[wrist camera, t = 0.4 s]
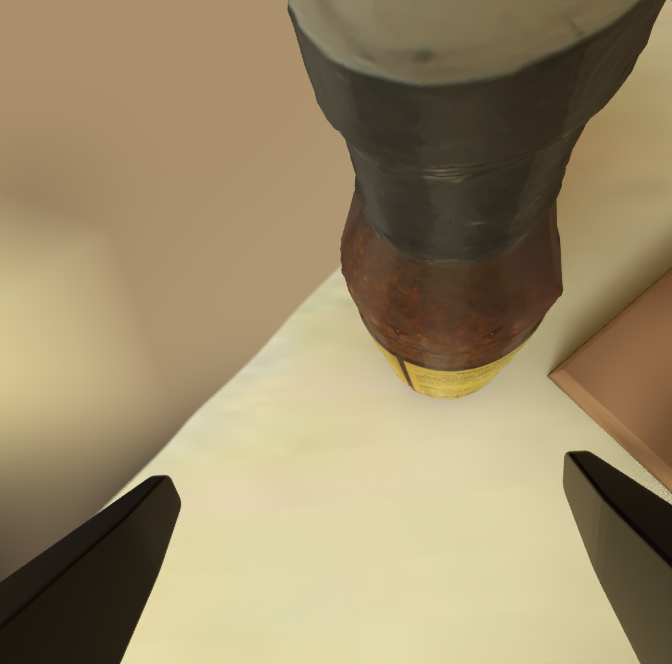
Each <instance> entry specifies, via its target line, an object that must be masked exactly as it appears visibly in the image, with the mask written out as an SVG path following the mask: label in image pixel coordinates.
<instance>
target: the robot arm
mask: <svg viewBox="0 0 672 664" xmlns="http://www.w3.org/2000/svg"><path fill="white" fill-rule="evenodd" d="M563 487H564V491H565V495H566V497H567V500H568V503H569V505H570V508H571V511H572V513H573V516H574V519H575V521H576V524H577V527H578V529H579V532H580V535H581V537H582V540H583V543H584V545H585V548H586V551H587V553H588V556H589V558H590V561H591V563H592V566H593V568H594V571H595V573H596V575H597V577H598V579H599V582H600V584H601V586H602V588H603V590H604V592H605V594H606V596H607V598H608V600H609V602H610V604H611V606H612V608H613V610H614V612H615V614H616V616H617V618H618V620H619V622H620V624H621V626H622V628H623V630H624V632H625V634H626V636H627V638H628V640H629V642H630V644H631V646H632V648H633V650H634V652H635V654H636V656H637V658H638V660H639V662H640V664H672V505H671V504H670V503H668V502H667V501H665V500H664V499H662V498H661V497H659V496H658V495H656V494H654V493H653V492H651V491H650V490H648V489H647V488H645V487H644V486H642V485H641V484H639V483H637V482H636V481H634V480H633V479H631V478H630V477H628V476H627V475H625V474H624V473H622V472H621V471H619V470H617V469H616V468H614V467H613V466H611V465H610V464H608V463H607V462H605V461H604V460H602V459H601V458H599V457H597V456H596V455H594V454H593V453H591V452H589V451H569V452H567V453H566V454H565V456H564V471H563ZM180 508H181V499H180V497H179V494H178V492H177V490H176V488H175V486H174V484H173V481H172V479H171V478H170V477H169V476H168V475H156V476H151V477H149V478H148V479H146V480H145V481H144V482H142V483H141V484H139V485H138V486H136V487H135V488H134V489H132V490H131V491H129V492H128V493H126V494H125V495H124V496H122V497H121V498H119V499H118V500H116V501H115V502H114V503H112V504H111V505H109V506H108V507H107V508H105V509H104V510H102V511H101V512H99V513H98V514H97V515H95V516H94V517H92V518H91V519H89V520H88V521H87V522H85V523H84V524H82V525H81V526H79V527H78V528H77V529H75V530H74V531H72V532H71V533H69V534H68V535H67V536H65V537H64V538H63V539H61V540H60V541H58V542H57V543H55V544H54V545H53V546H51V547H50V548H48V549H47V550H45V551H44V552H42V553H41V554H40V555H38V556H37V557H35V558H34V559H33V560H31V561H30V562H28V563H27V564H25V565H24V566H22V567H21V568H20V569H18V570H17V571H15V572H14V573H13V574H11V575H10V576H8V577H7V578H5V579H4V580H3V581H1V582H0V664H120V663H121V661H122V658H123V656H124V654H125V651H126V649H127V647H128V644H129V642H130V640H131V638H132V635H133V633H134V631H135V628H136V626H137V624H138V621H139V619H140V617H141V614H142V612H143V610H144V607H145V605H146V603H147V600H148V598H149V596H150V593H151V591H152V589H153V587H154V584H155V582H156V579H157V577H158V574H159V572H160V569H161V566H162V563H163V560H164V557H165V554H166V551H167V548H168V545H169V542H170V539H171V536H172V533H173V530H174V527H175V524H176V521H177V518H178V515H179V512H180Z"/></svg>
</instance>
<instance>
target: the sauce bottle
mask: <svg viewBox="0 0 672 664" xmlns="http://www.w3.org/2000/svg"><path fill="white" fill-rule="evenodd" d="M665 1H666V0H288V13H289V15H290V18H291V21H292V23H293V26H294V29H295V33H296V36H297V40H298V43H299V47H300V50H301V54H302V57H303V61H304V65H305V67H306V70H307V73H308V75H309V78H310V81H311V83H312V86H313V89H314V92H315V96H316V100H317V102H318V104H319V106H320V108H321V110H322V111H323V113H324V115H325V117H326V118H327V120H328V121H329V122H330V124H331V125H332V126H333V127H334V128H335V129H336V130H338V131H339V132H340V133H341V134H342V136H343V137H344V138H345V140H346V144H347V147H348V150H349V153H350V157H351V161H352V164H353V168H354V171H355V174H356V177H355V191H354V195H353V198H352V202H351V207H350V210H349V214H348V217H347V221H346V224H345V228H344V231H343V235H342V238H341V248H340V250H341V263H342V270H341V271H342V274H343V275H344V277H345V280H346V283H347V287H348V291H349V292H350V294H351V296H352V298H353V300H354V302H355V304H356V306H357V307H358V310H359V313H360V316H361V318H362V320H363V323H364V324H365V326H366V328H367V330H368V331H369V333H370V334H371V336H372V337H373V339H374V340H375V342H376V344H377V345H378V347H379V348H380V350H381V351H382V353H383V354H384V356H385V357H386V359H387V360H388V362H389V364H390V365H391V367H392V368H393V370H394V371H395V373H396V374H397V375H398V377H399V378H400V379H401V380H402V381H403V382H404V383H405V384H406V385H407V386H411V387H412V388H413V389H414V390H415V391H417V392H419V393H421V394H424V395H427V396H430V397H435V398H441V399H455V398H460V397H463V396H466V395H469V394H471V393H473V392H476V391H477V390H479V389H481V388H482V387H484V386H485V385H486V384H488V383H489V382H490V381H491V380H492V379H493V378H494V376H495V375H496V374H497V373H498V372H499V371H500V370H501V369H502V368H503V367H504V366H505V365H506V364H507V363H508V362H509V361H510V360H511V358H512V357H513V356H514V355H515V354H516V353H517V352H518V351H519V349H520V348H521V347H522V346H523V345H524V343H525V342H526V341H527V340H528V339H529V338H530V337H531V336H532V334H533V333H534V332H535V331H536V329H537V328H538V326H539V325H540V323H541V322H542V320H543V318H544V316H545V314H546V313H547V311H548V310H549V309H550V307H551V306H552V305H553V304H554V303H555V302H556V300H557V299H558V298H559V297H560V296H561V295H562V292H563V286H562V272H561V248H560V237H559V232H558V228H557V207H556V199H557V196H558V194H559V192H560V189H561V187H562V180H563V177H564V175H565V170H566V166H567V164H568V162H569V159H570V156H571V152H572V149H573V148H574V146H575V144H576V142H577V140H578V138H579V136H580V135H581V133H582V131H583V129H584V127H585V125H586V123H587V122H588V121H589V119H590V118H591V117H593V116H594V115H595V114H596V113H598V112H599V111H600V110H601V109H602V108H603V107H604V106H605V105H606V104H607V103H608V102H609V101H610V99H611V98H612V97H613V96H614V95H615V93H616V92H617V91H618V90H619V88H620V87H621V86H622V84H623V83H624V82H625V80H626V79H627V77H628V76H629V75H630V73H631V72H632V70H633V68H634V66H635V63H636V61H637V59H638V56H639V55H640V54H641V52H642V51H643V49H644V48H645V46H646V45H647V43H648V40H649V37H650V33H651V30H652V27H653V25H654V23H655V21H656V18H657V16H658V14H659V12H660V10H661V8H662V7H663V5H664V3H665Z"/></svg>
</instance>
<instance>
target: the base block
mask: <svg viewBox="0 0 672 664" xmlns="http://www.w3.org/2000/svg"><path fill="white" fill-rule="evenodd" d="M548 377H549V378H550V379H551V380H552V381H553V382H554V383H555V384H556V385H557V386H558V387H559V388H560V389H561V390H562V391H564V392H565V393H566V394H567V395H568V396H569V397H570V398H571V399H572V400H573V401H574V402H575V403H576V404H577V405H578V406H579V407H581V408H582V409H583V410H584V411H585V412H586V413H587V414H588V415H589V416H590V417H591V418H592V419H593V420H594V421H595V422H596V423H598V424H599V425H600V426H601V427H602V428H603V429H604V430H605V431H606V432H607V433H608V434H609V435H610V436H611V437H612V438H613V439H615V440H616V441H617V442H618V443H619V444H620V445H621V446H622V447H623V448H624V449H625V450H626V451H627V452H628V453H629V454H630V455H632V456H633V457H634V458H635V459H636V460H637V461H638V462H639V463H640V464H641V465H642V466H643V467H644V468H645V469H646V470H647V471H649V472H650V473H651V474H652V475H653V476H654V477H655V478H656V479H657V480H658V481H659V482H660V483H661V484H662V485H663V486H664V487H666V488H667V489H668V490H669V491H670V492H671V493H672V268H670V269H669V270H668V271H667V272H666V273H665V274H664V275H662V276H661V277H660V278H659V279H658V280H657V281H656V282H654V283H653V284H652V285H651V286H650V287H649V288H648V289H646V290H645V291H644V292H643V293H642V294H641V295H640V296H638V297H637V298H636V299H635V300H634V301H633V302H632V303H630V304H629V305H628V306H627V307H626V308H625V309H624V310H622V311H621V312H620V313H619V314H618V315H617V316H616V317H614V318H613V319H612V320H611V321H610V322H609V323H608V324H606V325H605V326H604V327H603V328H602V329H601V330H600V331H598V332H597V333H596V334H595V335H594V336H593V337H591V338H590V339H589V340H588V341H587V342H586V343H585V344H583V345H582V346H581V347H580V348H579V349H578V350H577V351H575V352H574V353H573V354H572V355H571V356H570V357H569V358H567V359H566V360H565V361H564V362H563V363H562V364H561V365H559V366H558V367H557V368H556V369H555V370H554V371H553V372H551V373H550V374H549V375H548Z"/></svg>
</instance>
